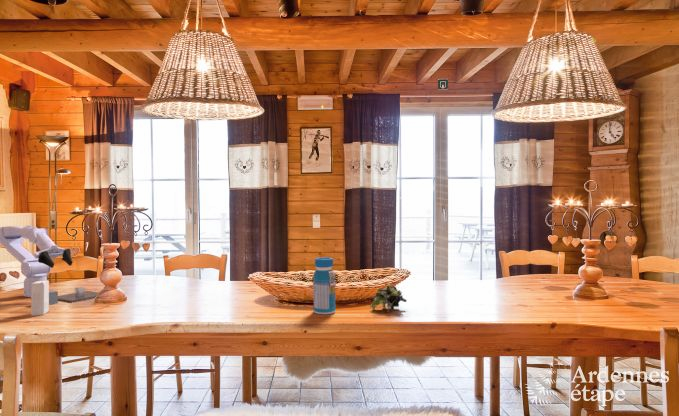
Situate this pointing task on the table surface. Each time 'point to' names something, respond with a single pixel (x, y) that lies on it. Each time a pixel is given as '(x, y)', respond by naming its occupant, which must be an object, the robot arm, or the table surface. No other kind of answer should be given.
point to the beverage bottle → (324, 286)
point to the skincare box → (39, 298)
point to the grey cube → (53, 297)
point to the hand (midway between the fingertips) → (62, 264)
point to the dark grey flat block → (78, 295)
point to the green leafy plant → (388, 297)
